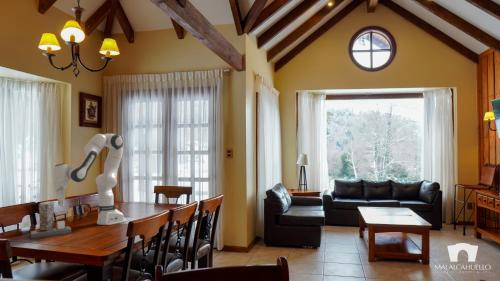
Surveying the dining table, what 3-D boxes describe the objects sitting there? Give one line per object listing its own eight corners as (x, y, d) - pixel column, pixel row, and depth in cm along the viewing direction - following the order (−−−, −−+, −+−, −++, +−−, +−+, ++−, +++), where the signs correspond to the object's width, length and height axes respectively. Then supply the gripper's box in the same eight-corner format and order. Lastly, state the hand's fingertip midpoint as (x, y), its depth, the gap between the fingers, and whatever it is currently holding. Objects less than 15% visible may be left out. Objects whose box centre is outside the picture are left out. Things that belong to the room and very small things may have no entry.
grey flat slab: (69, 230, 258) (69, 225, 258) (71, 232, 250) (71, 228, 250) (30, 235, 244) (30, 230, 244) (31, 238, 236) (31, 233, 236)
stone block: (49, 230, 257) (49, 203, 258) (38, 231, 256) (38, 204, 256) (54, 226, 270) (54, 200, 270) (44, 227, 269) (44, 201, 269)
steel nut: (64, 231, 254) (63, 220, 254) (64, 233, 250) (64, 221, 250) (56, 232, 251) (56, 221, 251) (57, 234, 247) (57, 222, 248)
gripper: (67, 187, 244) (67, 207, 244) (63, 184, 261) (63, 203, 261) (57, 187, 241) (57, 208, 240) (53, 185, 257) (53, 204, 257)
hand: (60, 205), depth 251 cm, fingers open, 8 cm apart
